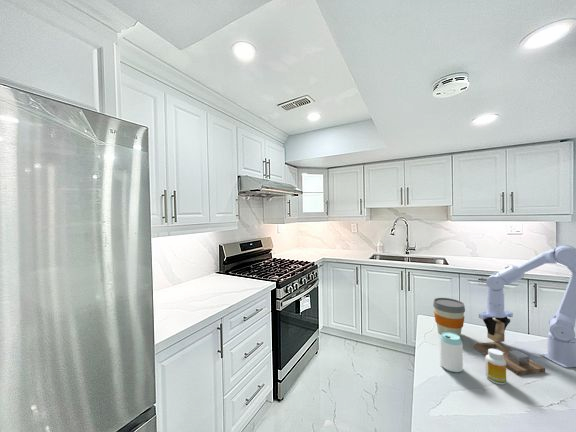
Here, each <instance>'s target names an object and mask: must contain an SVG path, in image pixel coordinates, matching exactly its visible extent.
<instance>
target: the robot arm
mask: <svg viewBox="0 0 576 432" xmlns="http://www.w3.org/2000/svg"><path fill="white" fill-rule="evenodd" d="M557 261H558V263H559V264H562V265H564V266H565V267H566V268H567V269H568V270H569V271H570V272H571V276H570V278H569V280H568V282H567V285H566V289H565V291H564V293H563V297H562V299H561V301H560V304H559V306H558V309H557V311H556V312H555V314H554V316H552V317H551V318H549V320H548V324H549V331H548V332H547V353H541V354H540V356H542V357H543V358H545V359H547V360H549V361H552V362H553V363H555V364H557V365H559V366H561V367H563V368H568V369H569V368H576V333H575V327H576V247H573V246H572V245H569V244H560V245H557V246H556V247H555V248H550V249H547V250H546V251H543V252H541V253H540V254H537V255H535V256H534V257H532V258H530V259H528V260H527V261H525V262H522V263H521V264H519V265H513V264H512V265H510V266H509V265H506V266H504V269H502V270H499V271H498V272H497V271H495V272H494V273H493V274H492V275H490V276H488V277H487V278H486V282H485V283H486V284H485V285H486V286H487V287H486V289H487V290H486V309H485V311H483V312H479V313H478V318H479V319H480V320H482V321H483V323H484V325H485V327H486V330H487V333H489V334H491V335H494V333H495V326H496V323H497V321H494V320H493V319H496V320H499V321H501V322H503V323H504V333H505V331H506V328H507V326H508V325H509V324H510V323H511V319H510V318H513V317H514V315H513V314H514V313H513V312H511V311H509V310H508V311H507V310H505V293H504V287H505V286H508V285H511V284H513V283H515V282H517V281H520V280H521V279H523V278H524V277H525V274H526V273H527V272H529V271H532V270H535V269H536V268H539V267H541V266H543V265H546V264H554V265H555V264H557Z"/></svg>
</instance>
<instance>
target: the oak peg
mask: <svg viewBox="0 0 576 432" xmlns="http://www.w3.org/2000/svg"><path fill="white" fill-rule="evenodd" d="M493 320H494V321H497V323H496V326H495V333H494V335H491V334H489V333H488V332H487V333H486V334H487V335H486V336H487V339H489V340H491V341H492V342H498V343H503V342H505V332H504V323H503V322H501V321H499V320H496V319H495V318H493Z"/></svg>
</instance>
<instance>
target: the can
mask: <svg viewBox="0 0 576 432" xmlns="http://www.w3.org/2000/svg"><path fill="white" fill-rule="evenodd" d="M463 351H464V350H463V341H462V339H461V336H458V335H457V334H454V333H451V332H443V333H442V335H440V336H439V364H440V366H441V367H442V368H444V370H446V371H448V372H452V373H459V372H462V371H463V368H464V367H463V366H464V362H463V358H464V357H463Z"/></svg>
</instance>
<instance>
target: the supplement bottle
mask: <svg viewBox="0 0 576 432" xmlns="http://www.w3.org/2000/svg"><path fill="white" fill-rule="evenodd" d="M487 349H488V355H485V377H486V379H487V380H488V381H490V382H492V383H493V384H497V385H505V384H507V368H506V361H505V360H504V359H503V353H504V352H503V351H501V350H499V349H497V348H487Z"/></svg>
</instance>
